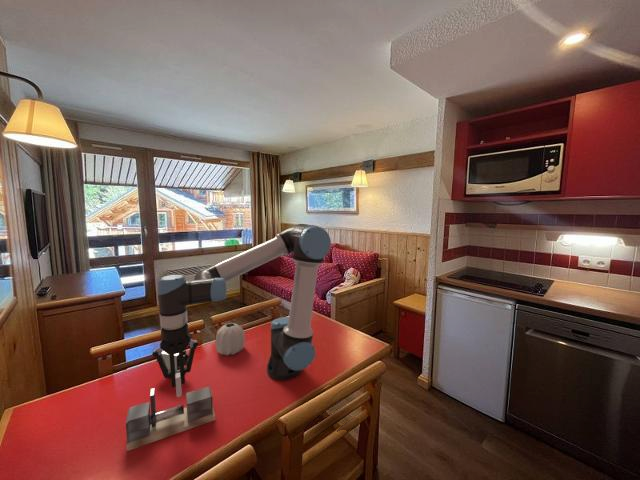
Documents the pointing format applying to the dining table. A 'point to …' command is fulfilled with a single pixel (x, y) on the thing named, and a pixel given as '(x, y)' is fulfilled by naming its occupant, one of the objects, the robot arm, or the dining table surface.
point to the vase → (230, 339)
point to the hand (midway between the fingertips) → (179, 393)
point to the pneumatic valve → (176, 359)
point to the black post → (163, 414)
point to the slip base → (193, 416)
